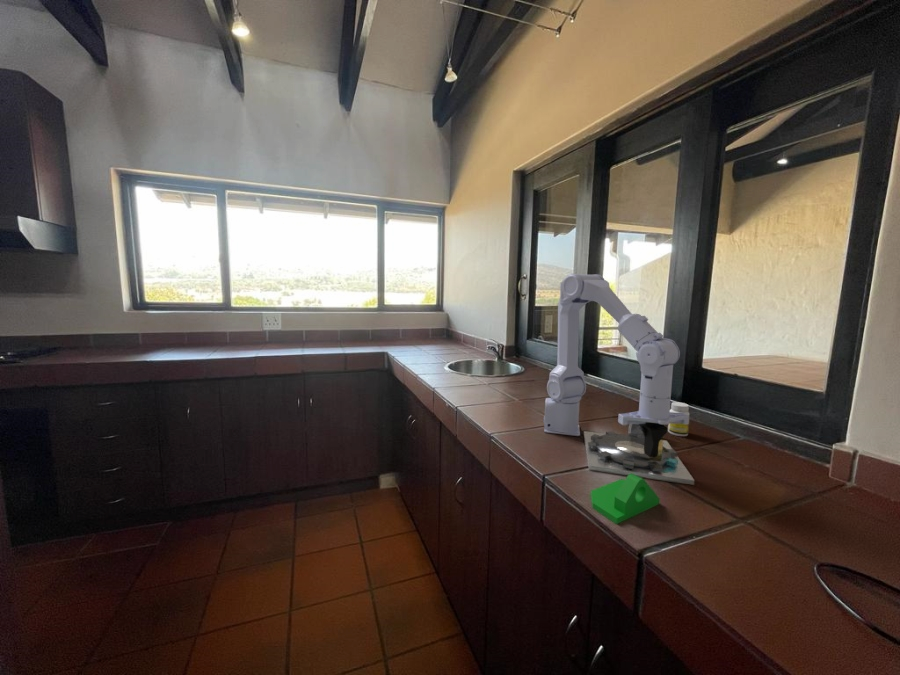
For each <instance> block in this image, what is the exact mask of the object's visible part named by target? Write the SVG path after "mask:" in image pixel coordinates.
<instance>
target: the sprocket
mask: <svg viewBox="0 0 900 675" xmlns="http://www.w3.org/2000/svg"><path fill="white" fill-rule="evenodd" d="M605 434H606V435H602V436H599V435H596V434H594V435H592V436H591V440H594V441H595V442H588V446H589V449H596V450H597V451H598V452H599V453H598V457H600V458H601V459H603V460H608V459H611V460H613V461H616V462H619V463H622V464H623V467H625V468H629V469H633V468H634V466H635V467H644V468H650V469H651V470H652V471H663V467H662V466H665V465H670V466H673V467H676V466H677V465H678V460H675V459H672V458H671V456H672V457H677V456H678V452H677V451H676V450H675V449H673V448H672V449H666V448H665V447H663V440H664V439H661V440H660V442H659V446H658V454H657V457H649V456H648V455H646V454H645V453H644V440H645V438H642V437H638V434H633V433H628V434H626V433H625V434H624V433H616V432H614V431H605Z"/></svg>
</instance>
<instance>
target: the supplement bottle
mask: <svg viewBox="0 0 900 675" xmlns="http://www.w3.org/2000/svg"><path fill="white" fill-rule="evenodd" d="M689 409H690V406H689V404H687V403H685V402H678V401H673V402H671V403H670V412H673V413H684V414H686V415H688V416H689V418H691V417H690V416H691V415H690V412H689ZM689 428H690V423H689V424H682V423H670V424H667V433H669V434H671V435H673V436H676V437H677V436H678V437H687V436H688V435H689Z"/></svg>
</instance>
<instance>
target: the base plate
mask: <svg viewBox="0 0 900 675" xmlns="http://www.w3.org/2000/svg"><path fill="white" fill-rule="evenodd" d="M594 434H596V435H599V436H602V435H606V433H603V432H602V433H601V432H594V431H593V432H592V431H583V439H584V440H583V441H584V446H585V452H586V453H585V454H586V459H587V460H586V462H587V466H588V471H594V472H595V471H596V472H602V473H608V474H615V475H622V476H628V475H629V474H634V475H636V476H638V477H640V478H642V479H650V480H656V481H657V480H658V481H664V482H671V483H677V484H684V485H690V486H692V485H693V486H694V485H695V481H696V480H695V479H694V478H693V476H692V474H690V472H689V470H688V469H687V467H686V466H685V464H683V462H682V460H681V459H680V457H679V456H678V455H677V457H672V456H671V458H672V459H675V460H678V465H677V466H676V467H673V466H670V465H665V466H662V467H663V471H652V470H651V469H650V468H644V467H635V466H634V468H633V469H629V468H625V467H623V464H622V463H619V462H616V461H613V460H611V459H608V460H603V459H601V458H600V457H598V453H599V452H598V451H597V450H596V449H589V446H588V442H595V441H594V440H591V436H592V435H594ZM662 440H663V447H665V448H666V449H673V447H672V446H671V445H670V443H669V442H668V440H665V439H662Z"/></svg>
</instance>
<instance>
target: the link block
mask: <svg viewBox="0 0 900 675" xmlns="http://www.w3.org/2000/svg"><path fill="white" fill-rule="evenodd" d="M627 433H628V434H629V433H633V434H638V437H642V438H645V436H644V434H643V431H642V429H641V427H640V426H639V424H628V430H627Z"/></svg>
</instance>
